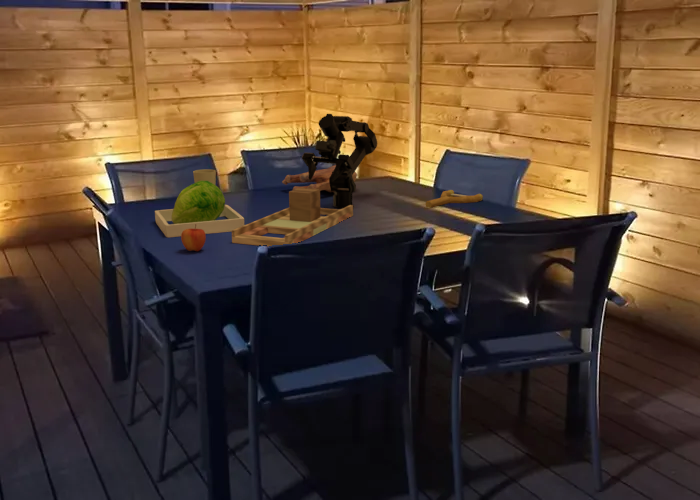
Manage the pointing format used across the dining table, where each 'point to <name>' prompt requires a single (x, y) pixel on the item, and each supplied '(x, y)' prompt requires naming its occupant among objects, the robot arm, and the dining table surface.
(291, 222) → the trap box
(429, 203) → the slingshot
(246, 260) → the dining table surface
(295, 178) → the sculpture
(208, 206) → the lettuce
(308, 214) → the walnut block
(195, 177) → the mug
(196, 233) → the apple
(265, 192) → the dining table surface
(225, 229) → the lettuce crate rim
